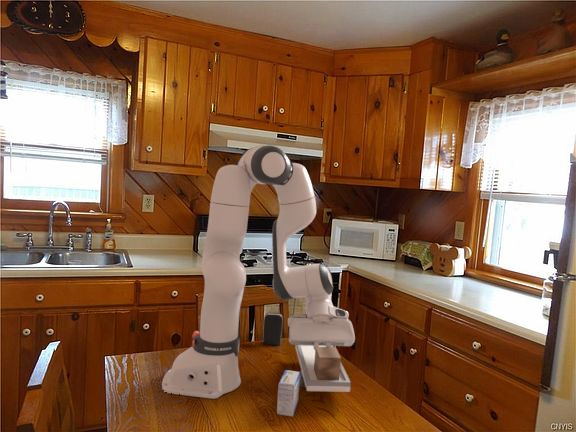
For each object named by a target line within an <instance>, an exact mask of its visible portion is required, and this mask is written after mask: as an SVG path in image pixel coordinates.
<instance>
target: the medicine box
mask: <svg viewBox="0 0 576 432" xmlns="http://www.w3.org/2000/svg"><path fill="white" fill-rule="evenodd" d="M279 380H280V381H279V382H278V389H277V404H276V414H277V415H281V416H287V417H294V414H295V412H296V408H297V405H298V404H299V403H298V402H299V393H300V372H298V371H295V370H290V369H289V370H288V369H285V370H284V372H283V374H282V376H281V378H280V379H279Z"/></svg>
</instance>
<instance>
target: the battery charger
mask: <svg viewBox="0 0 576 432" xmlns="http://www.w3.org/2000/svg"><path fill="white" fill-rule="evenodd" d="M283 321H284V320H283V315H282V314H281V313H280V312H266V313H265V314H264V317H263V335H262V344H264V345H265V344H266V345H274V346H275V345H276V346H277V345H278V346H279V345H281V344H282V333H283V332H282V331H283Z"/></svg>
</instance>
